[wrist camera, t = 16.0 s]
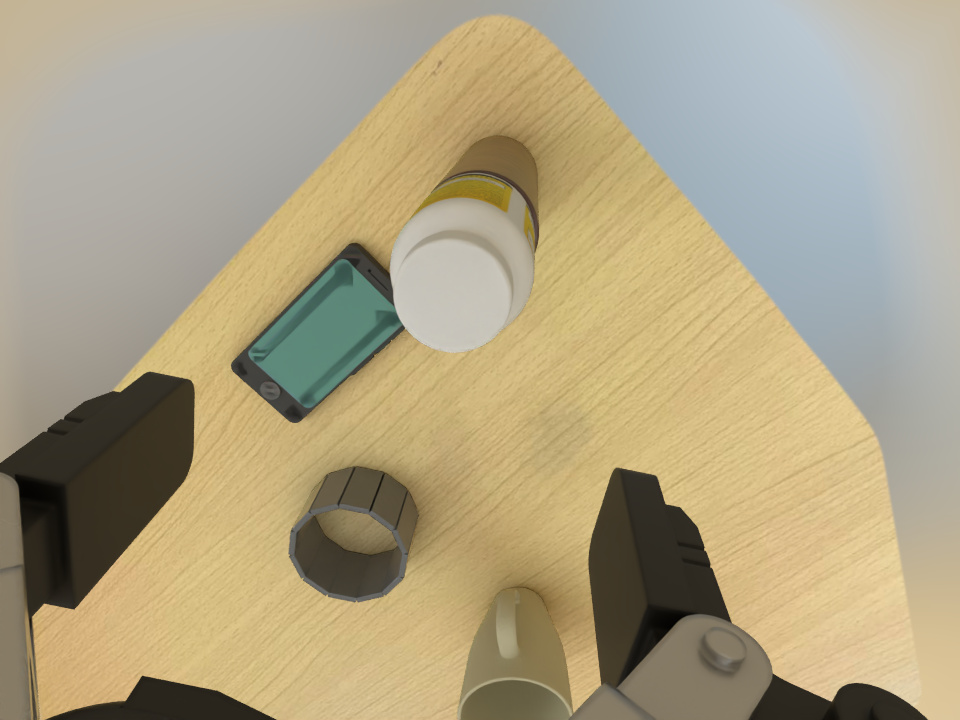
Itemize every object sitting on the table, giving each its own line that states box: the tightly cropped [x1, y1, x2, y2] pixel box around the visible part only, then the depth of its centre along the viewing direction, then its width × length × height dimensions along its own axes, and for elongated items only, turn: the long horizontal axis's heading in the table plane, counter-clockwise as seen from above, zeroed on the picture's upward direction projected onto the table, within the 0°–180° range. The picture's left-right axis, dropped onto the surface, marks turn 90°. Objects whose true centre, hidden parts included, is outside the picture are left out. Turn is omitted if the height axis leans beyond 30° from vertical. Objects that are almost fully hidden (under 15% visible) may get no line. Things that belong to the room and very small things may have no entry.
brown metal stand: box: [435, 136, 539, 251], centre depth 39 cm, size 6×6×18 cm
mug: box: [457, 587, 573, 720], centre depth 57 cm, size 11×10×12 cm
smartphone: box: [231, 243, 405, 423], centre depth 53 cm, size 7×1×15 cm
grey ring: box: [289, 467, 419, 602], centre depth 57 cm, size 10×10×6 cm
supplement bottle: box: [390, 173, 535, 353], centre depth 27 cm, size 5×5×10 cm
